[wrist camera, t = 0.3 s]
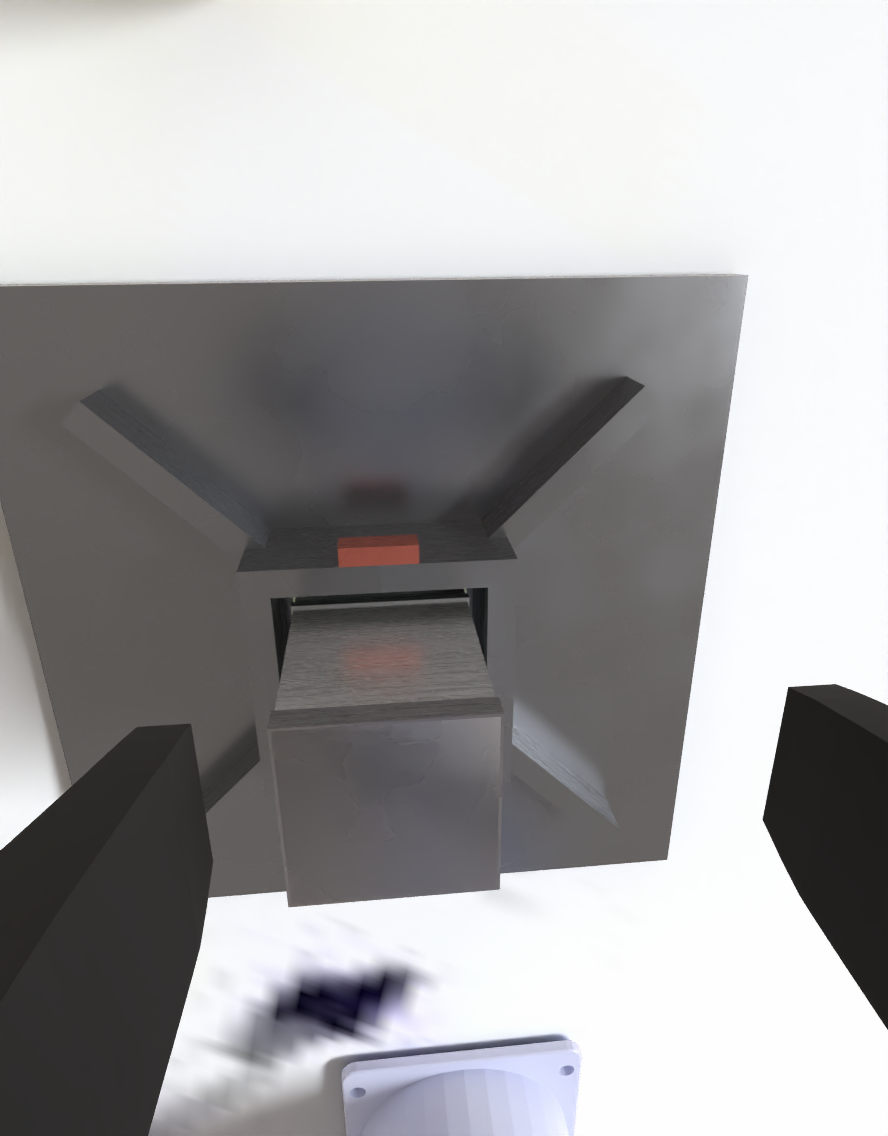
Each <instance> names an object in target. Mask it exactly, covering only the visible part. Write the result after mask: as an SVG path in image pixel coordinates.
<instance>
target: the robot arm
mask: <svg viewBox="0 0 888 1136" xmlns="http://www.w3.org/2000/svg"><path fill="white" fill-rule="evenodd" d="M763 821H764V823H765V826H766V828H767V830H768V832H769V834H770V836H771V838H772V841H773V843H774V845H775V847H776V849H777V851H778V853H779V856H780V858H781V860H782V862H783V864H784V866H785V868H786V870H787V872H788V874H789V876H790V878H791V880H792V881H793V883H794V885H795V887H796V889H797V891H798V893H799V895H800V897H801V898H802V900H803V901H804V903H805V905H806V906H807V908H808V909H809V911H810V913H811V914H812V916H813V917H814V919H815V920H816V922H817V923H818V925H819V926H820V928H821V930H822V931H823V933H824V934H825V936H826V937H827V939H828V940H829V942H830V943H831V945H832V946H833V948H834V950H835V951H836V953H837V954H838V956H839V957H840V959H841V960H842V962H843V963H844V965H845V966H846V968H847V969H848V971H849V972H850V974H851V975H852V977H853V978H854V980H855V981H856V983H857V984H858V986H859V987H860V989H861V990H862V992H863V993H864V995H865V996H866V998H867V999H868V1001H869V1002H870V1004H871V1005H872V1007H873V1008H874V1010H875V1011H876V1013H877V1014H878V1016H879V1017H880V1019H881V1020H882V1022H883V1023H884V1025H885V1026H886V1028H887V1029H888V705H886V704H883V703H881V702H879V701H877V700H874V699H872V698H870V697H867V696H865V695H863V694H860V693H858V692H855V691H853V690H850V689H847V688H844V687H842V686H839V685H836V684H832V685H815V686H799V687H788V692H787V697H786V702H785V707H784V712H783V718H782V723H781V728H780V733H779V738H778V743H777V748H776V754H775V759H774V764H773V769H772V774H771V779H770V785H769V790H768V795H767V800H766V805H765V810H764V815H763ZM212 867H213V857H212V851H211V844H210V838H209V832H208V826H207V820H206V813H205V807H204V801H203V795H202V788H201V782H200V776H199V770H198V764H197V757H196V751H195V745H194V739H193V733H192V726H191V724H176V725H160V726H143V727H136V728H135V729H134V730H133V731H131V732H130V733H129V734H128V735H127V736H126V737H124V738H123V739H122V740H121V741H120V742H119V743H118V744H117V745H116V746H115V747H113V748H112V749H111V750H110V751H109V752H108V753H107V754H106V755H105V756H104V757H103V758H102V759H100V760H99V761H98V762H97V763H96V764H95V765H94V766H93V767H92V768H91V769H90V770H89V771H88V772H87V773H85V774H84V775H83V776H82V777H81V778H80V779H79V780H78V781H77V782H76V783H75V784H74V785H73V786H71V787H70V788H69V789H68V790H67V791H66V792H65V793H64V794H63V795H62V796H61V797H59V798H58V799H57V800H56V801H55V802H54V803H53V804H52V805H51V806H49V807H48V808H47V809H46V810H45V811H44V812H43V813H42V814H41V815H40V816H38V817H37V818H36V819H35V820H34V821H33V822H32V823H31V824H30V825H28V826H27V827H26V828H25V829H24V830H23V831H22V832H21V833H20V834H18V835H17V836H16V837H15V838H14V839H13V840H12V841H11V842H10V843H8V844H7V845H6V846H5V847H4V848H3V849H2V850H0V1136H148V1134H149V1130H150V1126H151V1123H152V1119H153V1116H154V1112H155V1109H156V1105H157V1101H158V1098H159V1094H160V1091H161V1087H162V1084H163V1080H164V1076H165V1073H166V1069H167V1066H168V1062H169V1059H170V1055H171V1051H172V1048H173V1044H174V1041H175V1037H176V1034H177V1030H178V1026H179V1023H180V1019H181V1016H182V1012H183V1008H184V1005H185V1001H186V997H187V994H188V990H189V986H190V983H191V979H192V976H193V972H194V968H195V964H196V961H197V957H198V953H199V949H200V945H201V939H202V933H203V927H204V920H205V914H206V908H207V901H208V895H209V888H210V881H211V874H212ZM581 1060H582V1057H581V1053H580V1049H579V1045H578V1044H577V1043H576V1042H573V1041H571V1040H562V1041H553V1042H543V1043H533V1044H523V1045H514V1046H504V1047H494V1048H484V1049H475V1050H465V1051H455V1052H445V1053H436V1054H426V1055H416V1056H406V1057H397V1058H387V1059H377V1060H367V1061H358V1062H353V1063H350V1064H348V1065H346V1066H345V1067H344V1069H343V1070H342V1093H343V1104H344V1114H345V1124H346V1135H347V1136H574V1134H575V1124H576V1113H577V1102H578V1092H579V1081H580V1070H581Z"/></svg>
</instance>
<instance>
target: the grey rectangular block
mask: <svg viewBox="0 0 888 1136" xmlns="http://www.w3.org/2000/svg"><path fill="white" fill-rule="evenodd" d="M291 614H292V619H291V625H290V630H289V635H288V641H287V646H286V652H285V657H284V662H283V668H282V673H281V678H280V684H279V689H278V695H277V700H276V705H275V711H270V716H269V722H268V727H267V733H268V741H269V749H270V758H271V766H272V774H273V783H274V791H275V799H276V807H277V816H278V824H279V832H280V841H281V849H282V857H283V865H284V874H285V882H286V890H287V898H288V907H297V906H309V905H321V904H333V903H345V902H356V901H368V900H380V899H392V898H404V897H415V896H427V895H439V894H451V893H463V892H475V891H486V890H498V889H500V855H501V817H502V779H503V741H504V711H503V708H502V705H501V701H500V698H499V697H495V694H494V691H493V687H492V684H491V680H490V677H489V674H488V670H487V667H486V663H485V660H484V656H483V653H482V650H481V646H480V643H479V639H478V636H477V632H476V629H475V626H474V622H473V619H472V615H471V612H470V608H469V595H468V593H466V589H446V590H426V591H406V592H386V593H366V594H346V595H326V596H306V597H293V602H292V603H291Z"/></svg>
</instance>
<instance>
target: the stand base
mask: <svg viewBox="0 0 888 1136" xmlns="http://www.w3.org/2000/svg"><path fill="white" fill-rule="evenodd" d="M747 281H748V275H739V274H715V275H646V276H577V277H508V278H438V279H369V280H300V281H231V282H162V283H92V284H23V285H0V499H1V503H2V507H3V511H4V515H5V519H6V523H7V527H8V531H9V535H10V539H11V543H12V547H13V551H14V555H15V559H16V563H17V567H18V571H19V575H20V579H21V583H22V587H23V591H24V595H25V599H26V603H27V607H28V611H29V615H30V619H31V623H32V627H33V631H34V635H35V639H36V643H37V647H38V651H39V655H40V659H41V663H42V667H43V671H44V675H45V679H46V683H47V687H48V691H49V695H50V699H51V703H52V707H53V711H54V715H55V719H56V723H57V727H58V731H59V735H60V739H61V743H62V747H63V751H64V755H65V759H66V763H67V767H68V771H69V775H70V779H71V783H72V786H73V785H74V784H75V783H76V782H77V781H78V780H79V779H80V778H81V777H82V776H83V775H84V774H85V773H87V772H88V771H89V770H90V769H91V768H92V767H93V766H94V765H95V764H96V763H97V762H98V761H99V760H100V759H102V758H103V757H104V756H105V755H106V754H107V753H108V752H109V751H110V750H111V749H112V748H113V747H115V746H116V745H117V744H118V743H119V742H120V741H121V740H122V739H123V738H124V737H126V736H127V735H128V734H129V733H130V732H131V731H133V730H134V729H135V728H136V727H143V726H160V725H176V724H191V726H192V733H193V739H194V745H195V751H196V757H197V764H198V770H199V776H200V782H201V788H202V795H203V801H204V807H205V813H206V820H207V826H208V832H209V838H210V844H211V851H212V857H213V867H212V874H211V881H210V888H209V895H208V898H210V897H222V896H234V895H246V894H258V893H270V892H282V891H287V890H286V882H285V874H284V865H283V857H282V849H281V841H280V832H279V824H278V816H277V807H276V799H275V791H274V783H273V774H272V766H271V758H270V749H269V741H268V733H267V727H268V722H269V716H270V711H275V705H276V700H277V695H278V689H279V684H280V678H281V673H282V668H283V662H284V657H285V652H286V646H287V641H288V635H289V630H290V625H291V619H292V614H291V603H292V602H293V597H306V596H326V595H346V594H366V593H386V592H406V591H426V590H446V589H466V593H468V595H469V608H470V612H471V615H472V619H473V622H474V626H475V629H476V632H477V636H478V639H479V643H480V646H481V650H482V653H483V656H484V660H485V663H486V667H487V670H488V674H489V677H490V680H491V684H492V687H493V691H494V694H495V697H499V698H500V701H501V705H502V708H503V711H504V741H503V779H502V817H501V855H500V873H512V872H524V871H536V870H548V869H560V868H572V867H585V866H597V865H609V864H621V863H633V862H645V861H657V860H667V856H668V849H669V842H670V835H671V828H672V820H673V813H674V806H675V799H676V792H677V784H678V777H679V770H680V763H681V756H682V749H683V741H684V734H685V727H686V720H687V713H688V705H689V698H690V691H691V684H692V677H693V669H694V662H695V655H696V648H697V641H698V633H699V626H700V619H701V612H702V605H703V597H704V590H705V583H706V576H707V569H708V561H709V554H710V547H711V540H712V533H713V525H714V518H715V511H716V504H717V497H718V489H719V482H720V475H721V468H722V461H723V453H724V446H725V439H726V432H727V425H728V417H729V410H730V403H731V396H732V389H733V381H734V374H735V367H736V360H737V353H738V345H739V338H740V331H741V324H742V317H743V309H744V302H745V295H746V288H747Z"/></svg>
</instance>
